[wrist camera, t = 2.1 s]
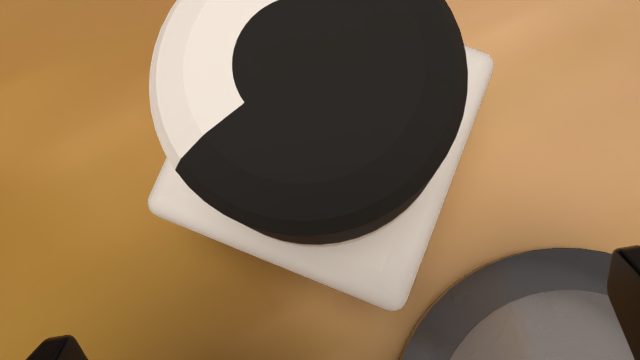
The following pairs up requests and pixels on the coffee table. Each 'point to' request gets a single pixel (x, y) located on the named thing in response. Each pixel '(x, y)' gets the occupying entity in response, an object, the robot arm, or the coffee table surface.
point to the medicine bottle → (315, 131)
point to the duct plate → (525, 312)
